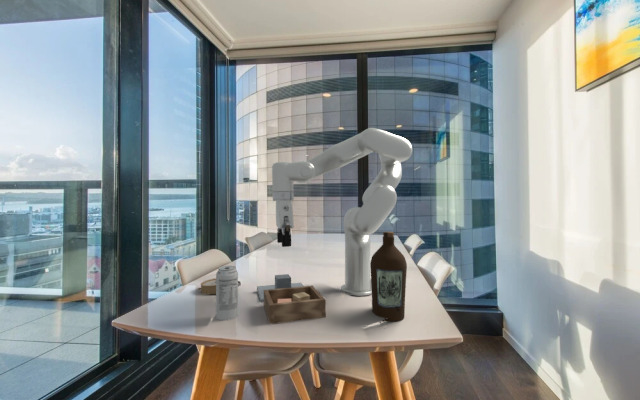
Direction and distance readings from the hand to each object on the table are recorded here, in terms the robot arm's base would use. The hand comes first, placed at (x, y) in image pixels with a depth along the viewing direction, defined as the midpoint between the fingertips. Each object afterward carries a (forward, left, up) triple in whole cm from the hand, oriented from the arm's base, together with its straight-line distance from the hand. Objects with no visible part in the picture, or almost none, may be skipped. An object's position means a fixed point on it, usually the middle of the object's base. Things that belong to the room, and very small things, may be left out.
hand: (284, 244), depth 105 cm
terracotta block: (+3, +20, -17) cm, 27 cm away
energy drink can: (+19, +16, -19) cm, 31 cm away
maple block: (-3, +16, -17) cm, 24 cm away
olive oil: (-27, +27, -19) cm, 42 cm away
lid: (0, 0, -19) cm, 19 cm away
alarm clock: (+22, -13, -19) cm, 32 cm away
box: (0, +18, -18) cm, 26 cm away
